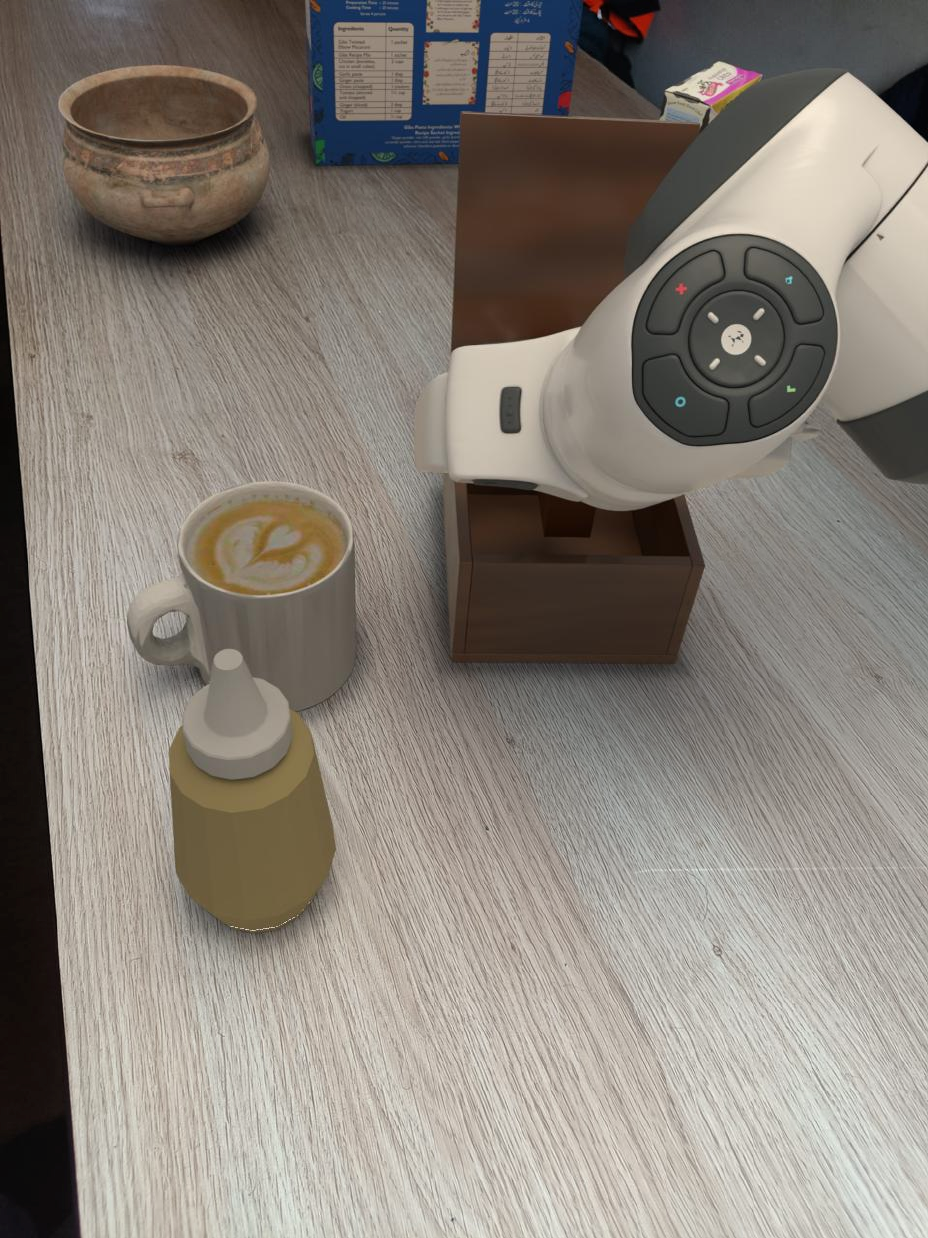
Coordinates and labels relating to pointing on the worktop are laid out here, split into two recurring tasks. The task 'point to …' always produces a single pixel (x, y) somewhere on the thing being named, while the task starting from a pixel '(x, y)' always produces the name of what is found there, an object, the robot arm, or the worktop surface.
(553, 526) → the chocolate bar
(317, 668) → the coffee mug
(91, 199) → the cooking pot
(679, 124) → the chest lid
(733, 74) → the candy bar box
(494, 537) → the chest
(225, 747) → the squeeze bottle
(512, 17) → the pasta box
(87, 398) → the worktop surface
